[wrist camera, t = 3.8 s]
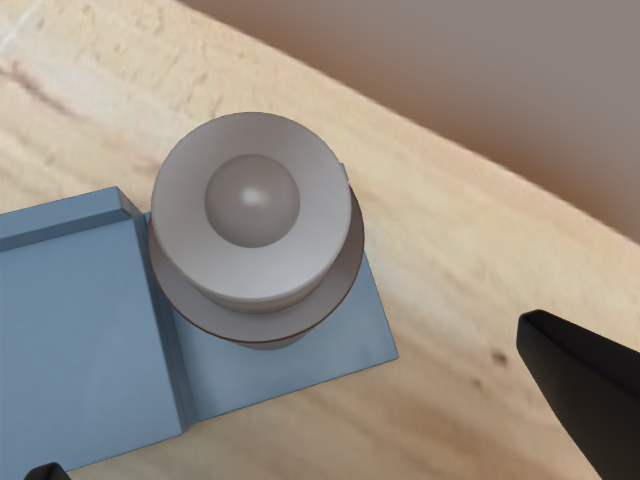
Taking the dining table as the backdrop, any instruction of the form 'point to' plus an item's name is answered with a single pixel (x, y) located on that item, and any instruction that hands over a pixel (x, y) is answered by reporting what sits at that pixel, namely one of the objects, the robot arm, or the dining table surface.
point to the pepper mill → (254, 230)
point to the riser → (134, 341)
